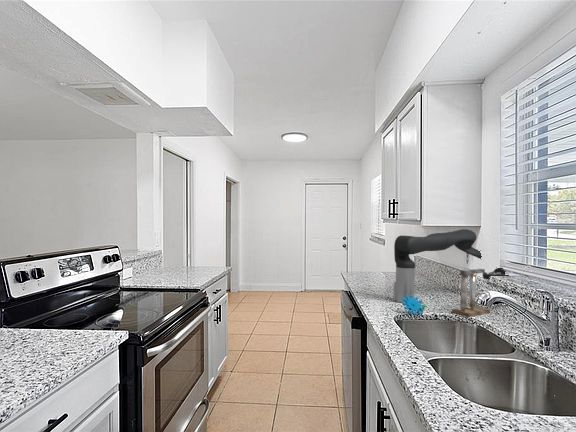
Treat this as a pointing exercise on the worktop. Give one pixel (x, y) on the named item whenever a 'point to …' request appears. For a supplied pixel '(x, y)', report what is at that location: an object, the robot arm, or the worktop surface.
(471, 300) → the clear glass tube
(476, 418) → the worktop surface
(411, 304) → the gear
